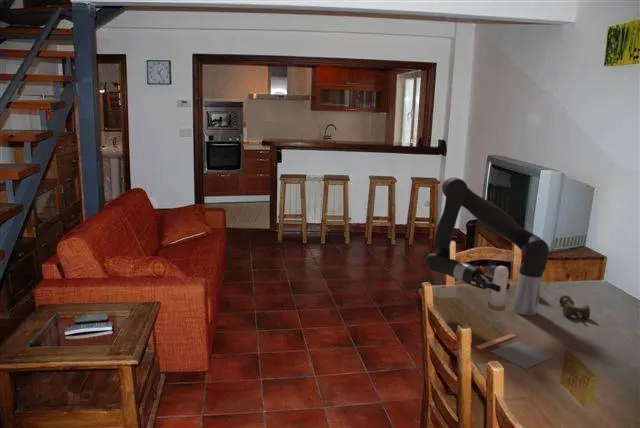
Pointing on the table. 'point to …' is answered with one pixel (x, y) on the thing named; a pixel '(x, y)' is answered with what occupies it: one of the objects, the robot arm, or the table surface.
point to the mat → (521, 355)
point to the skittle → (499, 297)
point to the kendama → (573, 308)
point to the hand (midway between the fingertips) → (504, 288)
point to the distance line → (495, 341)
